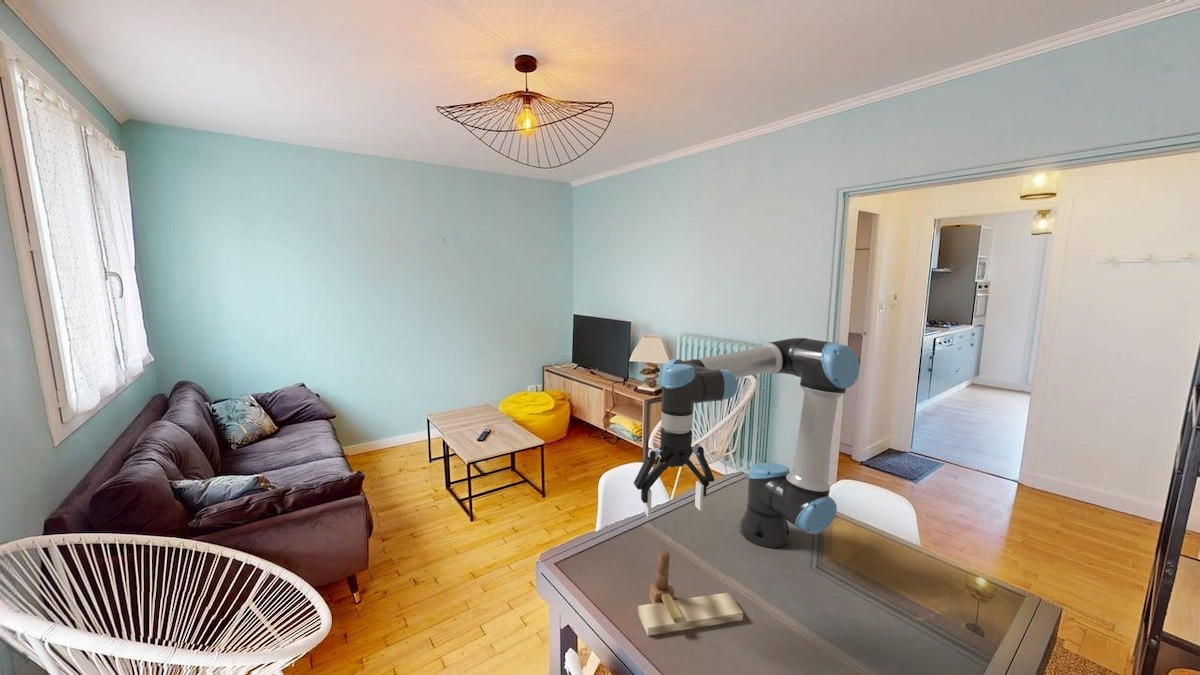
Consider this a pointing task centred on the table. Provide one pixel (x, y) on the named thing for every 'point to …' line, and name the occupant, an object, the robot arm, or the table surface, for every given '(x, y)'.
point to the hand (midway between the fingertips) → (673, 511)
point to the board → (690, 613)
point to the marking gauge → (664, 587)
